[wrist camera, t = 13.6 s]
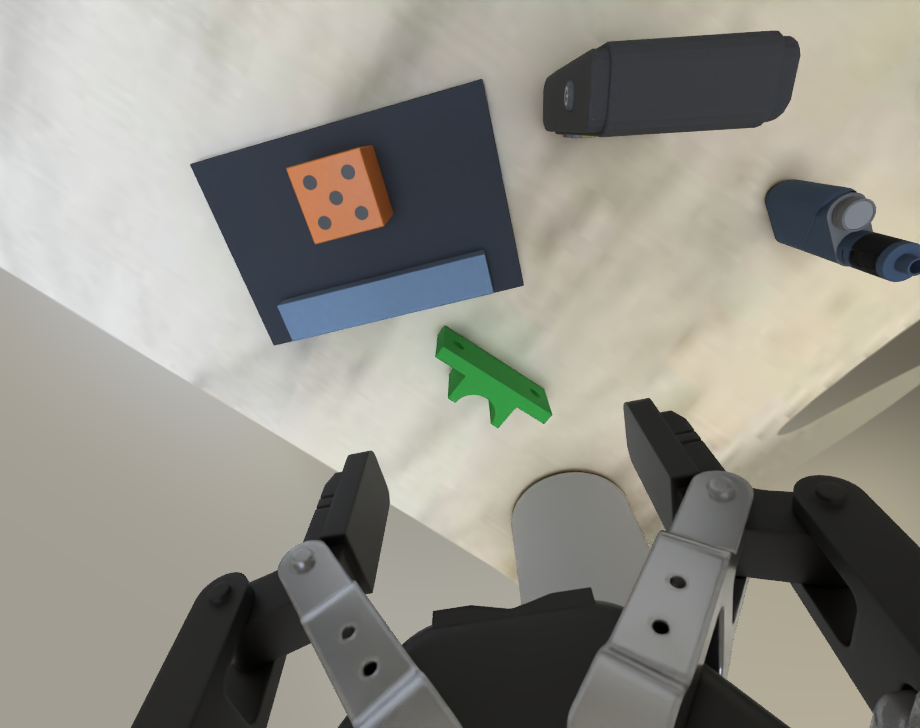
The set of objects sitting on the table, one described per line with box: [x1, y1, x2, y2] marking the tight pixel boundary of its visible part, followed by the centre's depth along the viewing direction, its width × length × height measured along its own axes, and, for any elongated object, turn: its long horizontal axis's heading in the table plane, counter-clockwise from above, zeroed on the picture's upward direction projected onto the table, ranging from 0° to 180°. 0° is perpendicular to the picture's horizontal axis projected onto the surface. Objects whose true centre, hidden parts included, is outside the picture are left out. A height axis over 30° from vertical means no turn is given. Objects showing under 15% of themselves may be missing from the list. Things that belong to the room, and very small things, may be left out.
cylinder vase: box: [512, 472, 650, 607], centre depth 40 cm, size 12×12×25 cm
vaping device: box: [765, 179, 920, 282], centre depth 32 cm, size 3×5×12 cm, turn 30°
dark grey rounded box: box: [543, 31, 800, 138], centre depth 28 cm, size 9×4×15 cm, turn 93°
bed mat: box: [190, 79, 524, 345], centre depth 37 cm, size 15×22×3 cm
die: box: [286, 145, 393, 244], centre depth 34 cm, size 5×5×5 cm
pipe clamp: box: [435, 326, 552, 428], centre depth 42 cm, size 11×4×5 cm, turn 55°
